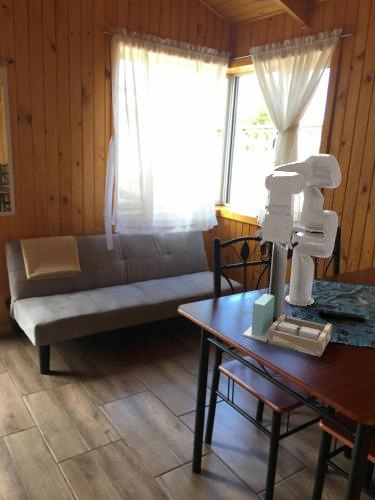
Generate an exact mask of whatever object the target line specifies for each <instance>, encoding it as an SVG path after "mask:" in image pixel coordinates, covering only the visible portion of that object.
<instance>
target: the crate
mask: <svg viewBox="0 0 375 500" xmlns="http://www.w3.org/2000/svg"><path fill="white" fill-rule="evenodd" d="M281 322H286V323H290V324H294V325H298V334H297V336H296V335H292V334H288V333H284V332H280V331H278V325H279V324H280V323H281ZM302 326H303V327H307V328H312V329H316V330H320V334H319V338H318V340H313V339H308V338H304V337H300V336H299V330H300V329H301V328H302ZM332 326H333V323H329V322H327V324H321V323H318V322H312V321H308V320H305V319H299V318H297V317H296V318H294V317H291V316H288V313H285V312H283V313H282V315H281V316H280V317H279V318H278V319H275V321H274V322H273V324H272V326H271V327H270V329H269V339H268V341H267V342H268V344H270V345H274V346H278V347H282V348H286V349H288V348H289V350H292V349H293V351H296V350H297V352H299V353H305V354H308V355H312V356H316V357H319V358H320V357H321V356H322V354H323V352H324V351H325V349H326V347H327V345H328V344H329V342H330V340H331V334H332Z"/></svg>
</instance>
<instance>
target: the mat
mask: <svg viewBox="0 0 375 500" xmlns="http://www.w3.org/2000/svg"><path fill="white" fill-rule="evenodd" d="M273 323H274V322H273ZM273 323H272V324H273ZM269 329H270V328H269ZM269 329H268V330H267V331H266V332H265V333H264V335H263V336H258V335H254V334H251V332H252V325H251V326H250V327H248V329H247V330H246V331H244V333H242V336H243V337H246V338H250V339H254V340H257V341H262V342H265V343H266V342H268V341H269Z"/></svg>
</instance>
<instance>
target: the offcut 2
mask: <svg viewBox="0 0 375 500" xmlns="http://www.w3.org/2000/svg"><path fill="white" fill-rule="evenodd" d="M319 334H320V330H316V329H312V328H307V327H303V326H302V328H301V329H300V330H299V336H300V337H304V338H308V339H313V340H318V338H319Z"/></svg>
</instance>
